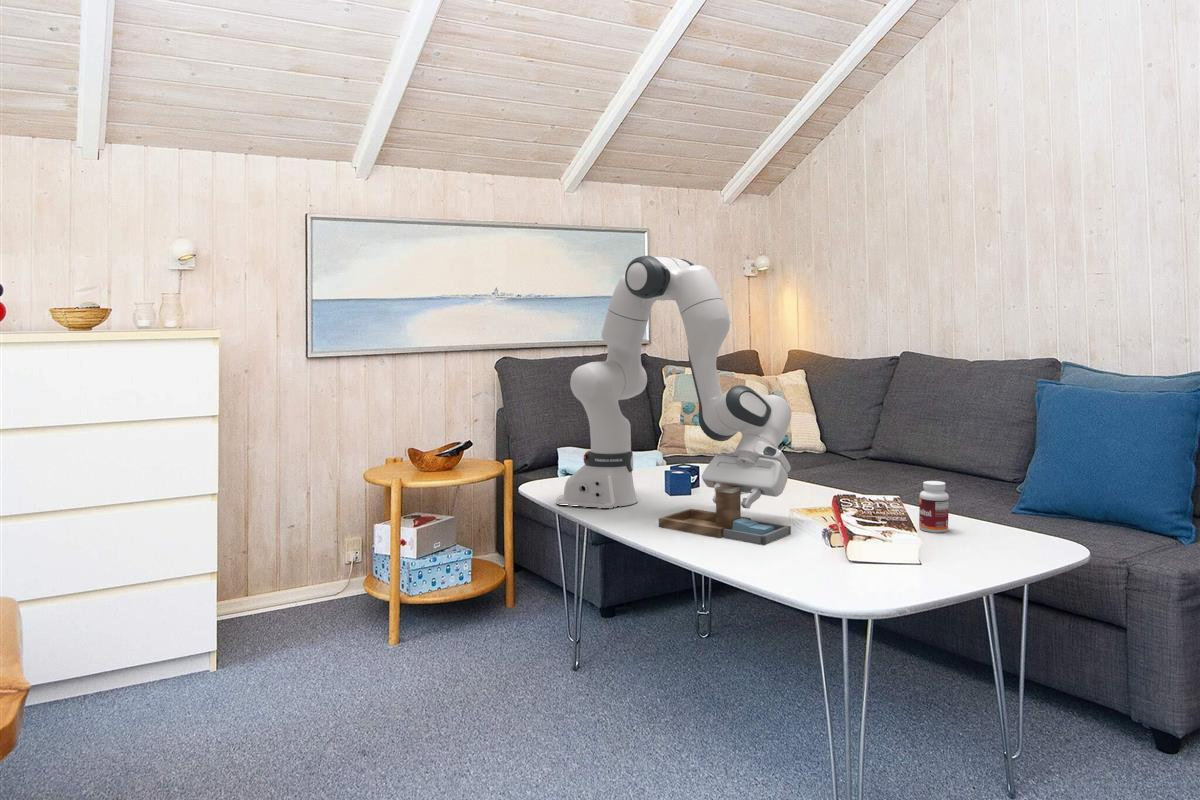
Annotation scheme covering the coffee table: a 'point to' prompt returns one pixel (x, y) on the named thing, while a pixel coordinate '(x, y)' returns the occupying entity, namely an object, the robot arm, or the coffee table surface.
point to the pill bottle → (934, 507)
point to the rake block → (727, 505)
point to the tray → (764, 539)
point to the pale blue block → (742, 524)
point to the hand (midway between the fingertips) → (730, 504)
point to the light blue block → (760, 529)
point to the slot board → (693, 522)
